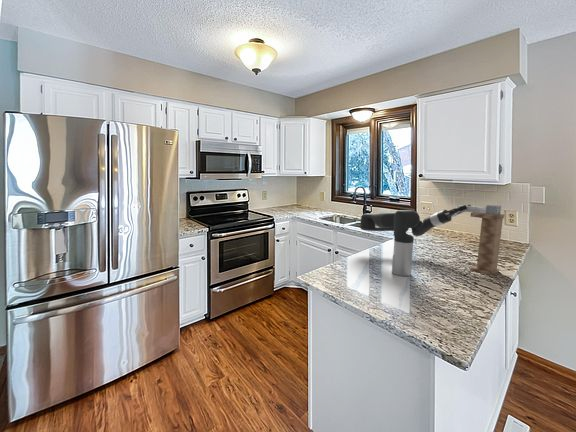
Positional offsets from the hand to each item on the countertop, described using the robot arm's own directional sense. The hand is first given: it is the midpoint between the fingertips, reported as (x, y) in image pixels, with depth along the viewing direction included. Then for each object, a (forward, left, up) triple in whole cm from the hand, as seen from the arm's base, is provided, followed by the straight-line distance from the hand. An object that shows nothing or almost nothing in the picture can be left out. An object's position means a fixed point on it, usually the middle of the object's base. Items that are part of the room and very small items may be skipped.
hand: (468, 206), depth 163 cm
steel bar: (+4, -2, -3) cm, 5 cm away
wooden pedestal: (+8, -5, -34) cm, 35 cm away
